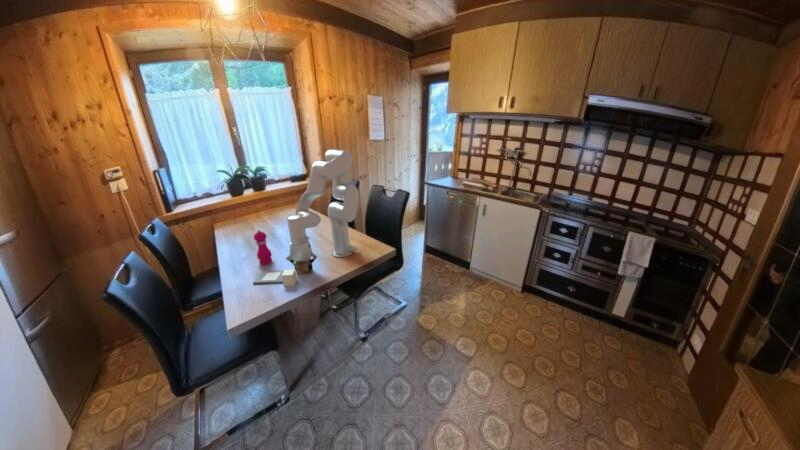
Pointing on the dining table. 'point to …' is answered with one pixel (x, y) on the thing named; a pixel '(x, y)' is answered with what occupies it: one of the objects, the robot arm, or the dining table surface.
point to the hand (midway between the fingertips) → (304, 270)
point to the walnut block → (302, 267)
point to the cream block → (289, 277)
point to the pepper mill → (262, 248)
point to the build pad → (269, 277)
